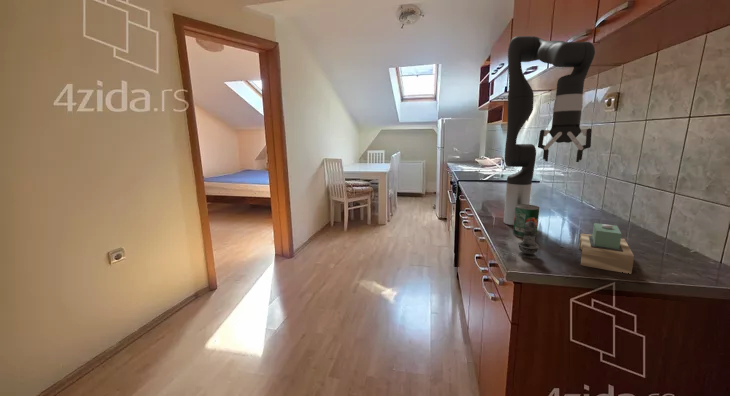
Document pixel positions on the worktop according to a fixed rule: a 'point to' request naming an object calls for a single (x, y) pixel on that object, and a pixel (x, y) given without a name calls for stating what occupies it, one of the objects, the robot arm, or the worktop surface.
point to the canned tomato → (525, 218)
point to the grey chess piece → (528, 242)
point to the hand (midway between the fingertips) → (561, 161)
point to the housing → (606, 236)
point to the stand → (606, 255)
